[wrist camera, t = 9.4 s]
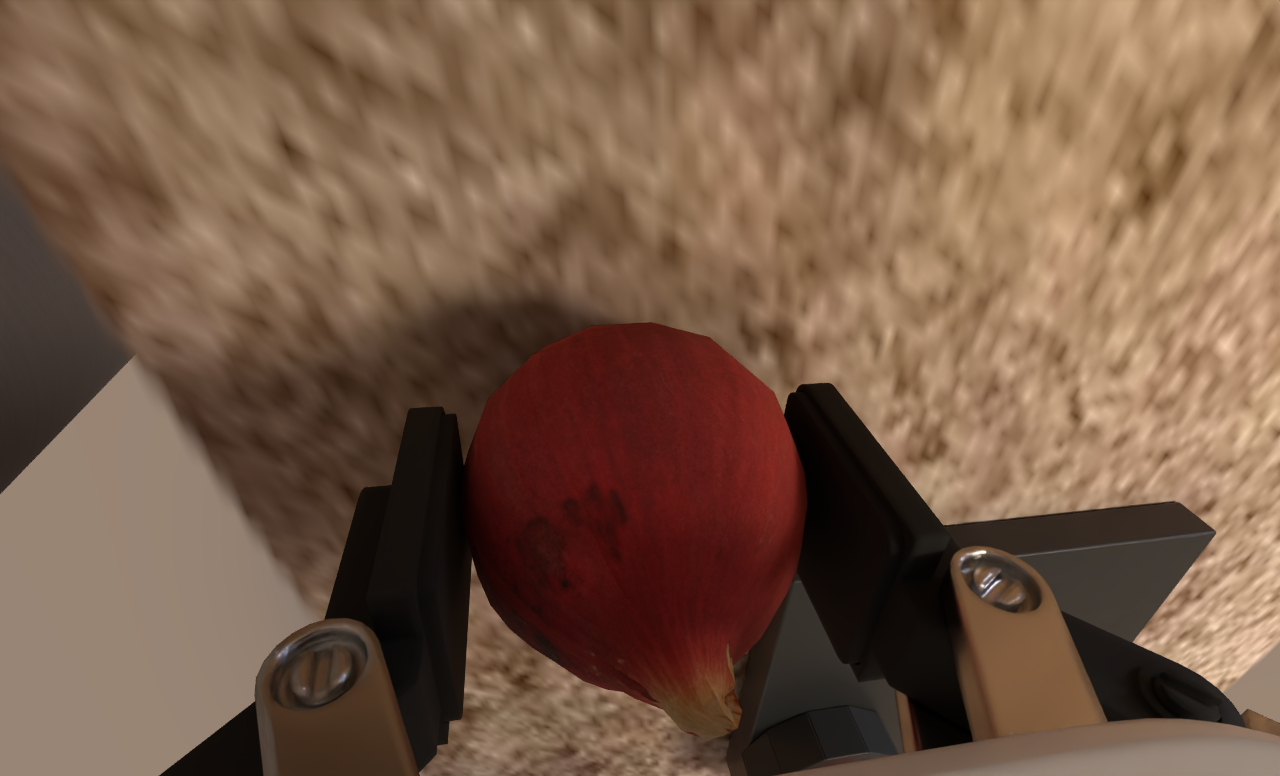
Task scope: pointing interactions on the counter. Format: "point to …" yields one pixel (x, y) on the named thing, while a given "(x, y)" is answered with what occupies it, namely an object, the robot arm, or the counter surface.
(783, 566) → the onion
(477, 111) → the counter surface
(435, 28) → the counter surface
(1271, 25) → the counter surface
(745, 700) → the scale
